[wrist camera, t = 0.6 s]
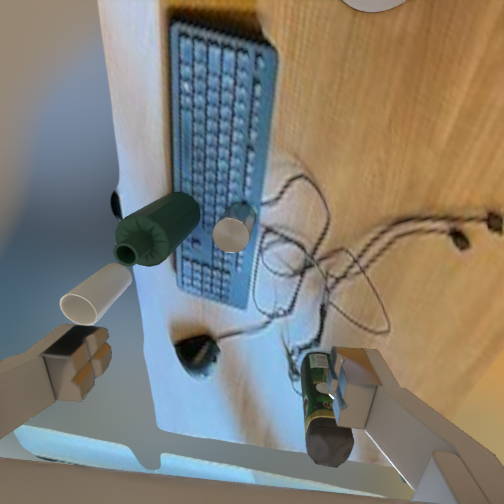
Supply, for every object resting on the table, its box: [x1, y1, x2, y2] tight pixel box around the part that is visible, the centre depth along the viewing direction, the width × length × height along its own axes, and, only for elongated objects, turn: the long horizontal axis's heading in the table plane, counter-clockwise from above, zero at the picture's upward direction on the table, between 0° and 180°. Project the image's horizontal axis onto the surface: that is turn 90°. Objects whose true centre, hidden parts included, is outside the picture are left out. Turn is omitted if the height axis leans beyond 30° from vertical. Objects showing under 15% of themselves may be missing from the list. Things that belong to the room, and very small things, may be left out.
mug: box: [60, 263, 132, 326], centre depth 50 cm, size 10×7×12 cm, turn 165°
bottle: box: [113, 192, 200, 267], centre depth 39 cm, size 8×8×18 cm
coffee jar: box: [301, 353, 354, 468], centre depth 51 cm, size 10×8×19 cm
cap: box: [213, 202, 256, 253], centre depth 42 cm, size 6×6×9 cm
